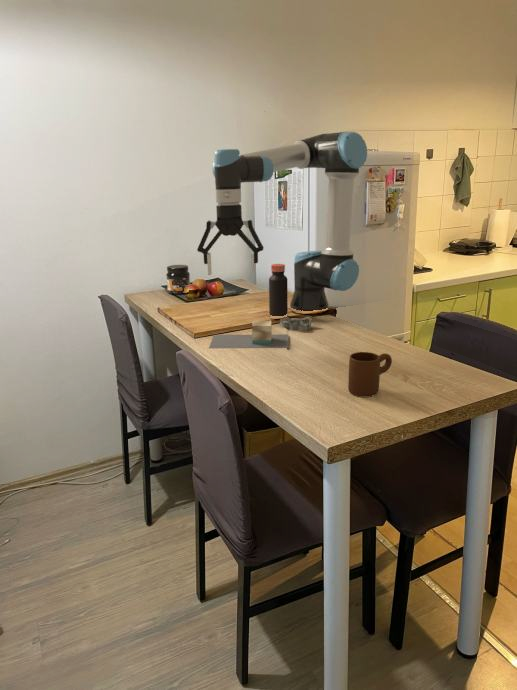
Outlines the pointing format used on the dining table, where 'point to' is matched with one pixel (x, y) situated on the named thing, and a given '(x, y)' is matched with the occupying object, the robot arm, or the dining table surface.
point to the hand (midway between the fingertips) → (231, 274)
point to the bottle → (278, 291)
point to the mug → (366, 372)
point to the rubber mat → (248, 341)
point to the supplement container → (177, 278)
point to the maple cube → (261, 332)
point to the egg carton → (296, 323)
